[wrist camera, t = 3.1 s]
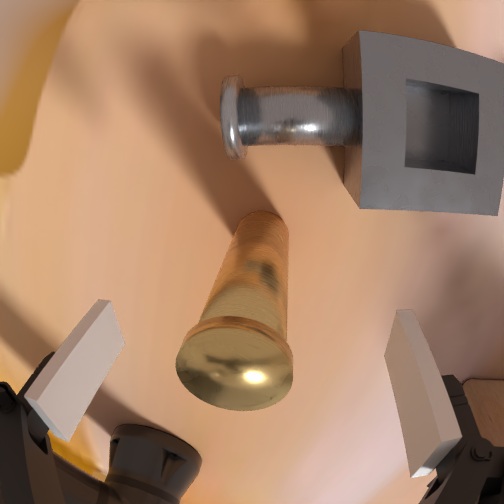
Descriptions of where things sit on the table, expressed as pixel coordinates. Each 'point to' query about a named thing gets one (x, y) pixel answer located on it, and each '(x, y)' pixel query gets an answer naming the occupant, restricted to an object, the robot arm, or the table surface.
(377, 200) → the valve body
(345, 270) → the table surface
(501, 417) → the wooden block
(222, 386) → the valve handle
